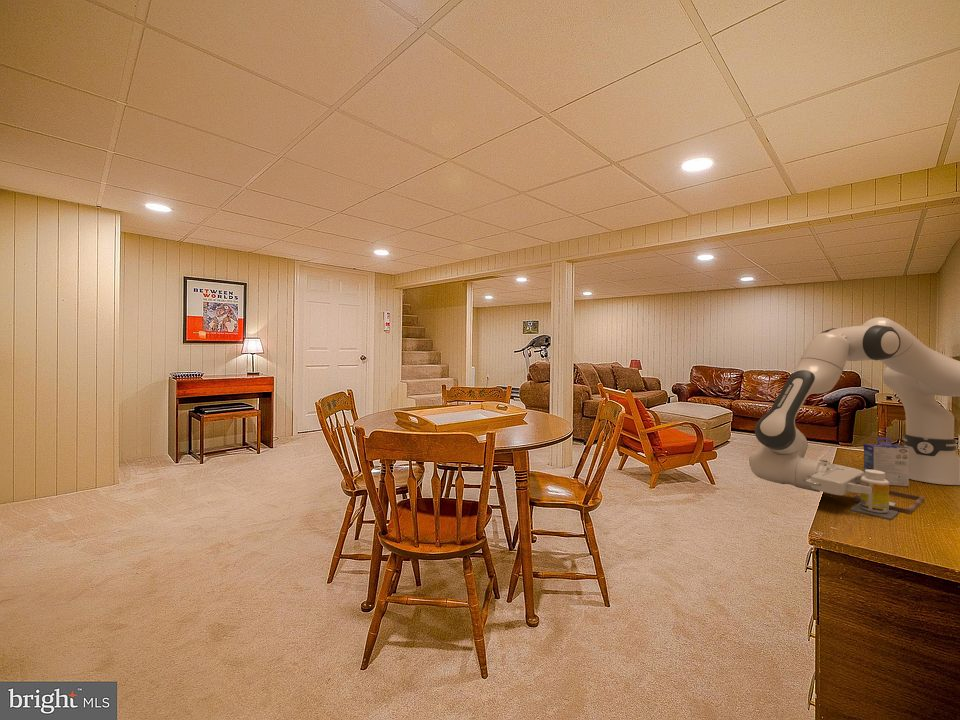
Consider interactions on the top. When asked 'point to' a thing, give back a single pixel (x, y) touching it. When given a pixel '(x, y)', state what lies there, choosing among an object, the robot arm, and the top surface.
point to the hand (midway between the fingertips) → (877, 487)
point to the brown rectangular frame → (904, 510)
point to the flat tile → (892, 503)
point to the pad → (888, 515)
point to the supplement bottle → (875, 492)
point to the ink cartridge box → (888, 461)
